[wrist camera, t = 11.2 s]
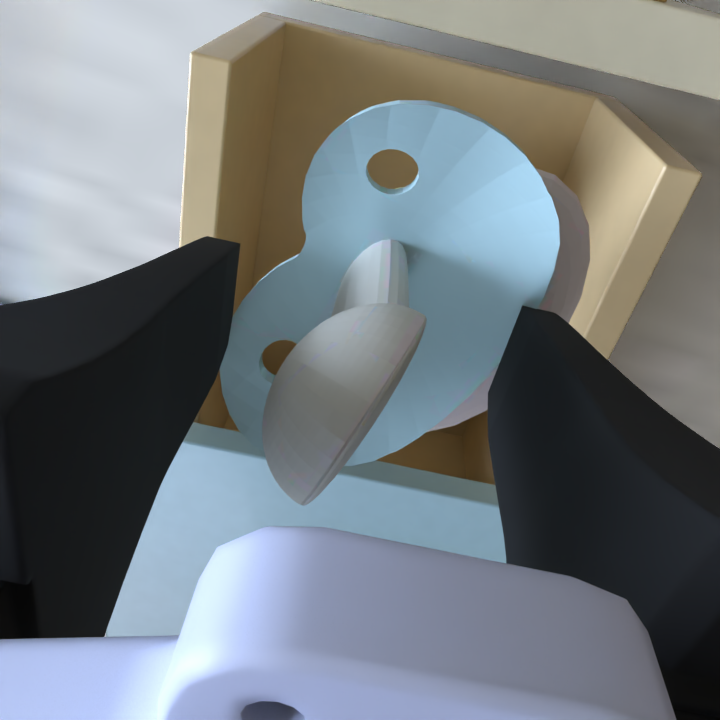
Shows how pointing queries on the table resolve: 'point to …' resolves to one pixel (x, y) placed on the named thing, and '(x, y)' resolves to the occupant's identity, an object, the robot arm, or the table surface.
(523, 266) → the pacifier
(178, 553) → the cabinet
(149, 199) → the table surface
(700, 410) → the table surface
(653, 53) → the drawer
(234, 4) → the table surface
